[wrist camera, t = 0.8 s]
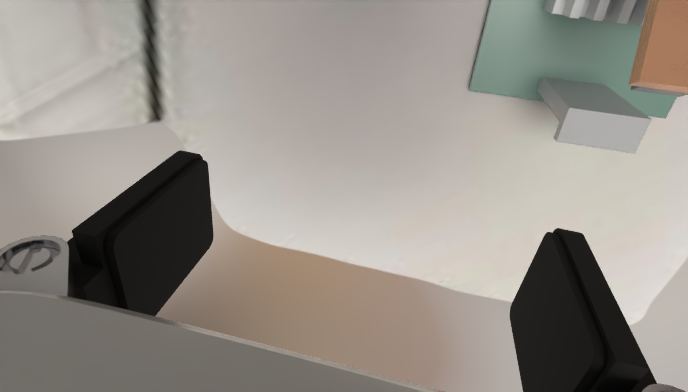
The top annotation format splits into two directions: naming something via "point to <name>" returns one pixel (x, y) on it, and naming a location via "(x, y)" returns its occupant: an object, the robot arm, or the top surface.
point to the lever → (662, 50)
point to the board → (571, 66)
